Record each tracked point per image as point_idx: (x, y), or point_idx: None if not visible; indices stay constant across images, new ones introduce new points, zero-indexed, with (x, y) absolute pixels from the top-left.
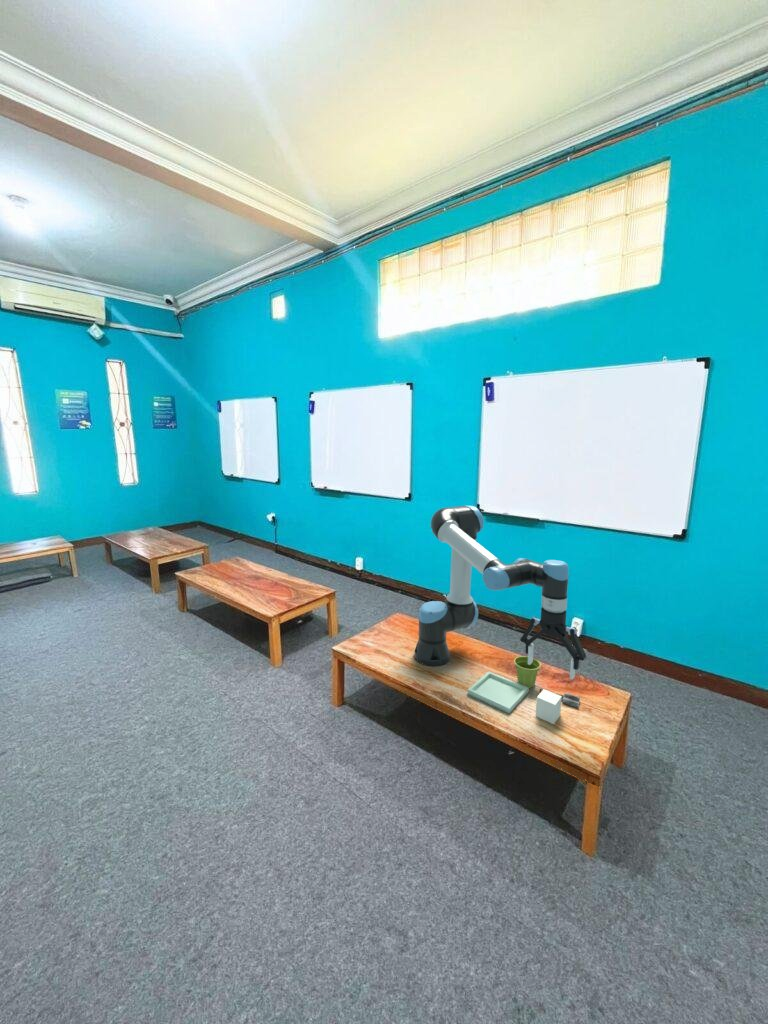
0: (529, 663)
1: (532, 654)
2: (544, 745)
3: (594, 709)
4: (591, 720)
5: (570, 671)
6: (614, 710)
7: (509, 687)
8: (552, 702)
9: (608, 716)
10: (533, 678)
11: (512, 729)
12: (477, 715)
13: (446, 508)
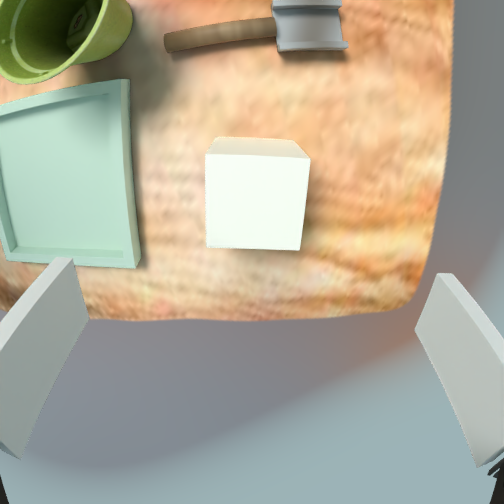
0: (82, 326)
1: (36, 328)
2: (287, 315)
3: (393, 29)
4: (397, 105)
5: (439, 376)
6: (444, 8)
7: (63, 118)
8: (283, 241)
9: (437, 51)
10: (114, 31)
11: (187, 311)
12: (90, 313)
13: None
